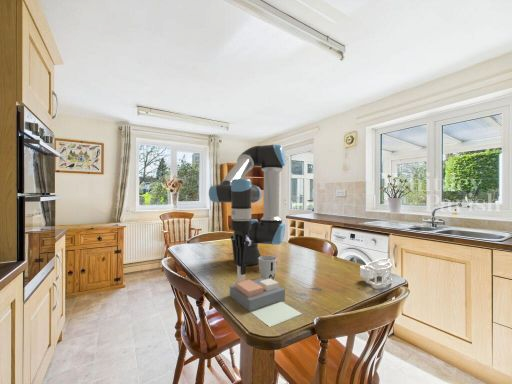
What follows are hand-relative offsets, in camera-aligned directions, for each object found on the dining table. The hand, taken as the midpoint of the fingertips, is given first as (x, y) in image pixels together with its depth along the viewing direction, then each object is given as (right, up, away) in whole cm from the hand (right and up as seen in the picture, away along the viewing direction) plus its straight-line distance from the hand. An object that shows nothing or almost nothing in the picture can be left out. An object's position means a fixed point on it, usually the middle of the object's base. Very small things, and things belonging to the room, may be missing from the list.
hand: (241, 282), depth 88 cm
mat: (+12, -5, -13) cm, 18 cm away
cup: (+11, -6, +16) cm, 20 cm away
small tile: (+10, -1, -1) cm, 10 cm away
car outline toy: (+61, -6, +17) cm, 64 cm away
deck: (+6, -5, -2) cm, 8 cm away
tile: (+3, -2, -4) cm, 5 cm away
